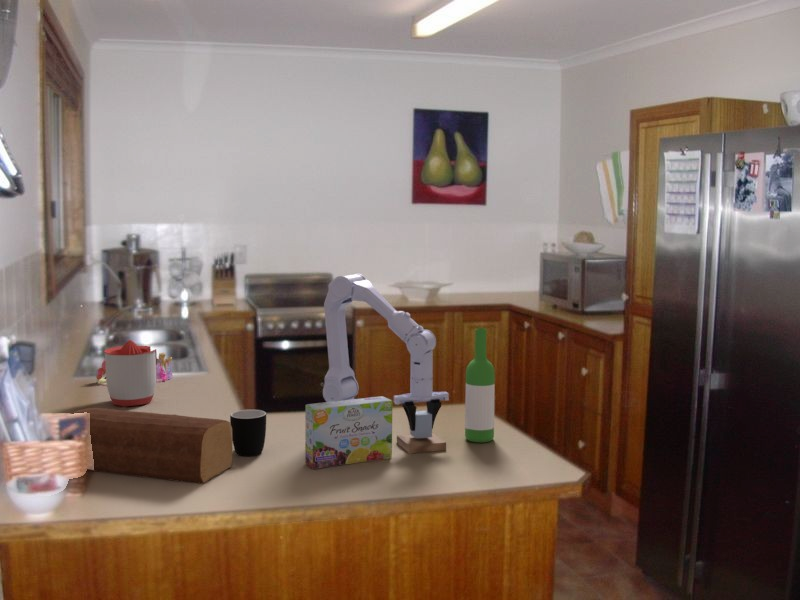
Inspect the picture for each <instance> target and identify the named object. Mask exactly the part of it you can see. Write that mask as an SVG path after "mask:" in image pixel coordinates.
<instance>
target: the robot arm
mask: <svg viewBox="0 0 800 600" xmlns="http://www.w3.org/2000/svg"><path fill="white" fill-rule="evenodd" d="M372 283H373V282H371V281H370V280H369V279H367V278H366V277H365V276H364V275H363V274H361V273H357V272H356V273H352V274H347V275H338V276H336V277H335V278H333V279H332V280H331V281H330V282H329V283H328V285H327V286H328V291H327V295H326V297H325V300H324V303H323V309H324V310H323V311H324V322H325V331H326V343H327V344H326V346H327V356H328V370H327V373H326V375H324V385H323V387H322V397H323V399H324V401H325V402H333V401H343V400H352V399H355V397H356V396H357V395H358V393H359V389H360V388H359V387H360V386H359V383H358V381H357V380H356V377H355V371H354V370H353V368H351V366H350V358H349V357H350V356H349V348H348V347H349V346H348V334H347V333H348V332H347V322H346V311H345V310H346V309H347V308H348V306H350V304H351V303H353V301H355V302H356V301H357V302H365V303H366V304H367V305H368V306H370V307H371V308H373V310H375V311H376V312H377V313H378V314H379V315H380V316H382V317H383V318H384V319H385V320H386V321H387V327H388V328H389V329H390V330H391V331H392V332H393V333H394V334H395V335H396V336H397V337H399V339H400V340H401V341H403V343H405V345H406V350H407V351H408V353H409V354H410V378H409V379H410V383H409V384H410V385H409V386H410V387H409V388H410V393H403V394H399V395H398V394H397V395H393V404H395V405H397V406H398V405H400V404H401V407H402V408H403V410H404V412H405V415H406V417H407V422H408V426H409V431H410V430H412V431H415V414H416V411H417V409H418V408H417V406H416V405H415V403H423V402H424V403H425V404H426V411H428V412H429V413H431V414H432V430H433V428H434V424H435V420H436V418H437V415H438V413H439V411H440V410H441V407H442V402H441V401H450V399H449V397H450V393H449V392H447V391H433V382H434V381H433V377H434V376H433V375H434V373H433V371H434V370H433V367H434V366H433V364H434V363H433V362H434V360H433V358H434V356H433V355H434V354H433V350H434V349H435V348H436V345H437V338H436V335H435V334H434V333H433V331H431V330H429V329H424V327H423V326H422V325H419V324H418V323H417V322H416V321H415V320H414V319H413V318H411V314H410V313H409V312H408V311H407V312H405V311H404V310H397V309H395V307H394V306H392V305H391V303H389V302H388V301H387V299H385V297H384V296H383V295H382V294H381V293H380V292H379V291H378V290H377V289H376V288H375V287H374V285H373V284H372Z"/></svg>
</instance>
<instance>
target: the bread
mask: <svg viewBox="0 0 800 600" xmlns="http://www.w3.org/2000/svg"><path fill="white" fill-rule="evenodd" d="M84 412H87V413H90V435H91V444H92V451H93V459H94V470H95V471H94V472H100V471H101V472H103V473H109V474H117V475H124V476H134V477H141V478H149V479H150V478H151V479H156V480H157V479H159V480H169V481H174V482H181V483H182V482H184V483H193V484H194V483H195V484H204V483H206V482H207V481H209V480H211V479H212V478H214V477H216V476H217V475H219V474H220V473H222V472H224V471H227V469H229V468H231V467H232V466H233V465H232V464H233V449H234V446H233V440H232V427H231V423H230V421H229V420H225V419H220V418H219V419H218V418H210V417H209V418H207V417H196V416H187V415H178V414H168V413H167V414H166V413H156V412H145V411H133V410H121V409H120V410H119V409H112V408H104V407H88V408H83V409H78V410H76V411H73V412H70V413H69V414H74V413H84Z"/></svg>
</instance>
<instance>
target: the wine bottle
mask: <svg viewBox="0 0 800 600" xmlns="http://www.w3.org/2000/svg"><path fill="white" fill-rule="evenodd" d="M474 333H475V334H474V335H475V336H474V338H475V341H474V358H473V359H472V360H471V361H470V362H469V363H468V365H467V366H466V369H465V396H464V397H465V407H464V408H465V411H464V412H465V414H464V431H465V432H464V433H465V434H464V437H465V439H467V441H468V442H471V443H478V444H479V443H481V444H482V443H489V442H491V441H492V440H493V439H494V436H495V398H496V396H495V393H496V392H495V388H496V387H495V386H496V385H495V383H496V382H495V380H496V378H495V376H496V373H495V371H496V370H495V367H494V365H493V364H492V362H491V361H489V360H488V358H487V328H483V327H477V328H475V332H474Z"/></svg>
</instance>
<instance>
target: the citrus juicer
mask: <svg viewBox="0 0 800 600" xmlns="http://www.w3.org/2000/svg"><path fill="white" fill-rule="evenodd" d="M103 353H104V355H105V356H104V359H105V360H104V361H105V364H106V373H105V377H106V382H107V386H106V387H107V391H108V394H109V399H110V401H111V402H112V404H113V405H115V406H121V407H122V408H123V407H124V408H127V407H130V406H133V407H134V406H142V405H148V404H149V403H150V402H152V401H153V398H154V395H155V389H156V385H157V384H156V383H157V382H156V365H157V363H162V362H161V360H160V359H159V358H157V357H158V356H157V355H158V354H157V349H153V350H151V346H150V345H137V344H136V343H135V342H134V341H133V340H131V339H130V340H127V341H126V342H125V343H124V345H122V346H115V347H110V348H107V349H105V350H104V351H103Z"/></svg>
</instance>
